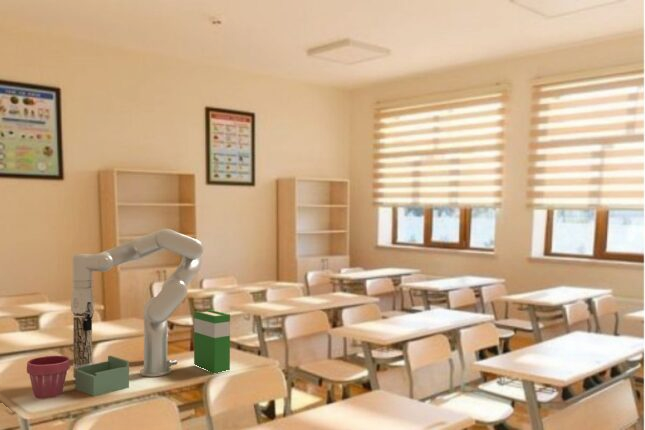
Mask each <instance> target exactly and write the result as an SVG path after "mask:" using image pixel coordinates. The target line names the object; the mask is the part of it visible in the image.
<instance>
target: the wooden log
mask: <svg viewBox="0 0 645 430" xmlns="http://www.w3.org/2000/svg"><path fill="white" fill-rule="evenodd" d="M86 317H87V315H86ZM83 321H85V320H84V316H83V314H75V315H74V314H73V328H72V329H73V333H72V334H73V340H72V341H73V342H72V343H73V347H72V348H73V353H72V354H73V357H72V358H73V363H72V364H73V365H72V366H73V371H72V372H73V373H72V374H73V375H72V376H73V378H74V379H75V377H76V370H78V367H82V366H86V365H91V364H93V329H92V330H88V331H83Z"/></svg>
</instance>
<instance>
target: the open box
mask: <svg viewBox="0 0 645 430" xmlns="http://www.w3.org/2000/svg"><path fill="white" fill-rule="evenodd" d="M74 380H75V383H74V384H75V390H77V391H79V392H82V393H84V394H86V395H90V396H92V397H97V396H101V395H104V394H109V393H112V392H115V391H116V392H117V391H120V390H124V389H125V390H126V389H128V388H130V361H129V360H126V359H123V358H121V357H116V356H113V355H108V356H107V361H103V362H97V363H92V364H91V365H86V366H82V367H78V370H76V377H75V378H74Z"/></svg>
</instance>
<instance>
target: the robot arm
mask: <svg viewBox="0 0 645 430" xmlns="http://www.w3.org/2000/svg"><path fill="white" fill-rule="evenodd" d="M164 250H166V251H168V252H171V253H173V254H175V255H180V256H181V262H180V263H179V265H178V266H177V267H176V269H175V270H174V271H173V272H172V273H171V274H170V276H169V277H168V278H166V280H165V281H164V282H163V284H162V285H161V290H160V291H159V293H158V294H157V295H156V296H154V297H150V298H149V299H147V301H146V302H145V303H144V305H143V369H141V370H140V371H139V375H140V376H142V377H148V378H149V377H152V378H153V377H154V378H155V377H162V376H165V375H169V374H170V373H171V372H172V369H171V366H177V365H178V361H177V360H176V359H175V360H168V337H167V335H169V334H168V332H169V331H168V330H169V329H168V328H169V327H168V326H169V325H168V319H169V318H170V317H171V315H172V314H173V313H174V312H175V311H176V310H177V309H178V308H179V306H180V305H181V303H183V302H184V300H185V298H186V296H187V293H188V287H189V285H190V284H191V283H192V282H193V280H194V279H195V277H196V276H197V275H198V273H199V272H200V271H201V270H200V269H201V266H202V260H203V257H202V254H203V253H204V245H203V243H202V242H201V241H200V240H199V239H196V238H193V237H191V236H189V235H186V234H183V233H180V232H178V231H176V230H173V229H171V228H162V229H160V230H156V231H153V232H151V233H148V234H145V235H143V236H140V237H137V238H135V239H132V240H130V241H127V242H125V243H124V244H123V243H122V244H121V245H118V246H115V247H113V248H110V249H107V250H105V251H102V252H100V253H97V254H96V253H95V254H90V253H78V254H75V255H73V257H72V292H71V304H70V306H71V307H70V311H71V312H72V313H73V316H74V315H75V314H83V316H84V320H85V321H83V331H88V330H92V331H93V317H94V313H95V310H94V309H95V308H94V307H95V305H94V304H95V303H94V293H93V292H94V291H93V289H94V272H99V273H105V272H108V271H110V270H111V269H112V268H113V267H117V266H119V265H122V264H125V263H128V262H130V261H137V260H141V259H144V258H146V257H149V256H152V255H155V254H157V253H160V252H162V251H164ZM86 315H87V317H86Z"/></svg>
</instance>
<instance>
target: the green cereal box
mask: <svg viewBox="0 0 645 430" xmlns="http://www.w3.org/2000/svg"><path fill="white" fill-rule="evenodd" d="M193 312H194V313H193V316H194V317H193V319H194V320H193V321H194V322H193V328H194V329H193V333H194V334H193V338H194V339H193V365H194V364H195V365H197V366H199V367H201V368H204V369H206V370H208V371H210V372H209V373H211V372H212V373H211V374H213V373H217V374H219V373H218V372H222V371H226V370H231V314H230V313H225V312H221V311H217V310H212V309H207V310H206V311H202V312H201V311H197V310H196V311H193ZM201 368H200V369H201ZM206 370H205V371H206ZM208 371H207V372H208ZM222 373H223V372H222Z"/></svg>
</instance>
